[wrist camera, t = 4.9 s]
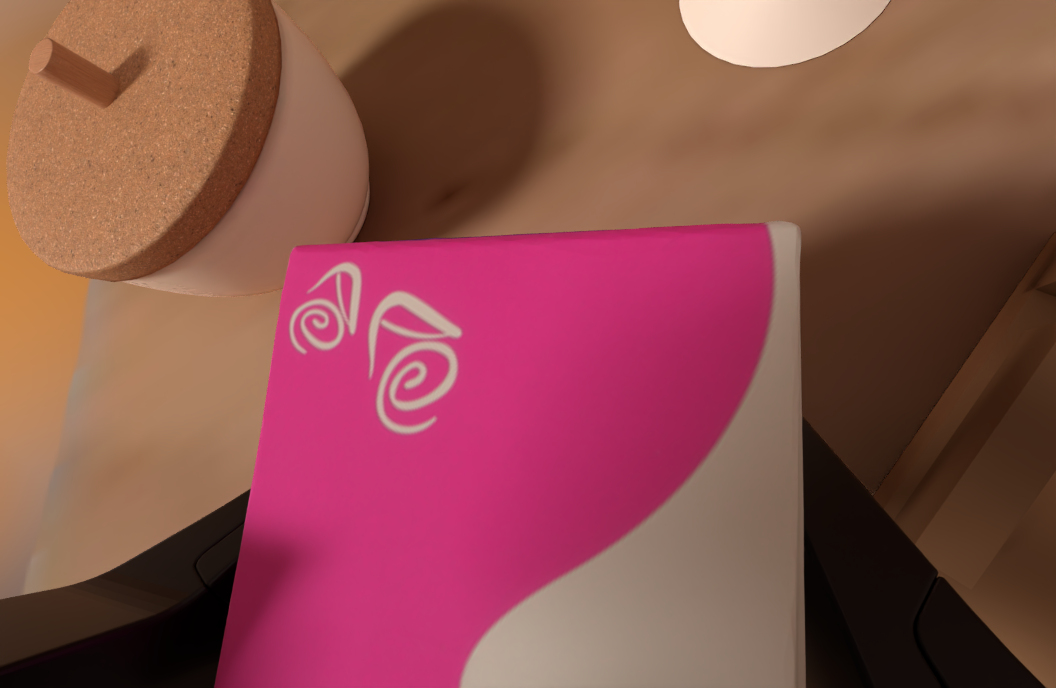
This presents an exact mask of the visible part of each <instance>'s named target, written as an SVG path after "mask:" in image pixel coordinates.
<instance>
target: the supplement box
mask: <svg viewBox="0 0 1056 688" xmlns="http://www.w3.org/2000/svg"><path fill="white" fill-rule="evenodd" d="M800 253H801V230H800V227H799V226H798V225H796V224H794V223H791V222H784V221H773V222H765V223H757V224H711V225H691V226H672V227H653V228H639V229H622V230H598V231H578V232H559V233H538V234H516V235H501V236H481V237H462V238H429V239H416V240H402V241H374V242H360V243H339V244H318V245H300V246H296V247H294V248H293V249H292V251H291V254H290V257H289V262H288V268H287V272H286V277H285V281H284V286H283V291H282V296H281V302H280V311H279V317H278V322H277V327H276V333H275V340H274V347H273V354H272V361H271V368H270V375H269V381H268V388H267V395H266V401H265V408H264V414H263V422H262V428H261V434H260V440H259V446H258V451H257V457H256V463H255V469H254V475H253V481H252V486H251V491H250V496H249V502H248V508H247V513H246V519H245V525H244V530H243V536H242V542H241V547H240V553H239V558H238V563H237V568H236V573H235V578H234V583H233V589H232V594H231V599H230V605H229V610H228V616H227V621H226V627H225V632H224V638H223V643H222V648H221V654H220V659H219V664H218V669H217V674H216V680H215V685H214V688H806V662H805V607H804V508H803V448H802V390H801V334H800Z"/></svg>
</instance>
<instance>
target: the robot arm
mask: <svg viewBox="0 0 1056 688" xmlns="http://www.w3.org/2000/svg"><path fill="white" fill-rule="evenodd" d="M802 448H803V508H804V607H805V662H806V688H1046V687H1045V686H1044V685H1043V684H1042V683H1041V682H1040V681H1039V680H1038V679H1037V678H1036V677H1035V676H1034V675H1033V674H1032V673H1031V672H1030V671H1029V670H1028V669H1027V668H1026V667H1025V666H1024V665H1023V664H1022V663H1021V662H1020V661H1019V659H1018V658H1017V657H1016V656H1015V655H1014V654H1013V653H1012V652H1011V651H1010V650H1009V649H1008V648H1007V647H1006V646H1005V645H1004V644H1003V643H1002V642H1001V640H1000V639H999V638H998V637H997V636H996V635H995V634H994V633H993V632H992V631H991V630H990V628H989V627H988V626H987V625H986V624H985V623H984V622H983V621H982V620H981V619H980V617H979V616H978V615H977V614H976V613H975V612H974V611H973V610H972V609H971V608H970V607H969V605H968V604H967V603H966V602H965V601H964V600H963V599H962V597H961V596H960V595H959V594H958V593H957V592H956V591H955V590H954V588H953V587H952V586H951V585H950V584H949V583H948V581H947V580H946V579H945V578H944V577H941V576H939V577H937V576H938V570H937V569H936V568H935V567H934V566H933V565H932V564H931V562H930V561H929V560H928V559H927V558H926V557H925V556H924V554H923V553H922V552H921V551H920V550H919V549H918V548H917V546H916V545H915V544H914V543H913V542H912V541H911V540H910V538H909V537H908V536H907V535H906V534H905V533H904V532H903V530H902V529H901V528H900V527H899V526H898V525H897V524H896V522H895V521H894V520H893V519H892V518H891V517H890V516H889V514H888V513H887V512H886V511H885V510H884V509H883V508H882V506H881V505H880V504H879V503H878V502H877V501H876V500H875V498H874V497H873V496H872V495H871V494H870V493H869V492H868V490H867V489H866V488H865V487H864V486H863V485H862V484H861V482H860V481H859V480H858V479H857V478H856V477H855V476H854V474H853V473H852V472H851V471H850V470H849V469H848V468H847V467H846V465H845V464H844V463H843V462H842V461H841V460H840V459H839V457H838V456H837V455H836V454H835V453H834V452H833V451H832V449H831V448H830V447H829V446H828V445H827V444H826V443H825V441H824V440H823V439H822V438H821V437H820V436H819V435H818V433H817V432H816V431H815V430H814V429H813V428H812V427H811V425H810V424H809V423H808V422H807V421H806V420H805V419H804V417H803V416H802ZM250 491H251V489H249V490H248V491H246V492H244V493H243V494H241V495H240V496H238V497H237V498H235V499H233V500H232V501H230V502H229V503H227V504H225V505H224V506H222V507H220V508H219V509H217V510H215V511H214V512H212V513H210V514H208V515H207V516H205V517H203V518H202V519H200V520H198V521H197V522H195V523H193V524H191V525H190V526H188V527H186V528H184V529H183V530H181V531H179V532H177V533H176V534H174V535H172V536H170V537H169V538H167V539H165V540H164V541H162V542H160V543H158V544H157V545H155V546H153V547H151V548H150V549H148V550H146V551H144V552H143V553H141V554H139V555H137V556H136V557H134V558H132V559H130V560H129V561H127V562H125V563H123V564H122V565H120V566H118V567H116V568H114V569H112V570H110V571H108V572H106V573H104V574H101V575H99V576H97V577H94V578H92V579H89V580H86V581H83V582H80V583H77V584H73V585H70V586H66V587H61V588H57V589H51V590H46V591H41V592H36V593H31V594H26V595H21V596H15V597H10V598H5V599H0V688H214V685H215V680H216V674H217V669H218V664H219V659H220V654H221V648H222V643H223V638H224V632H225V627H226V621H227V616H228V610H229V605H230V599H231V594H232V589H233V583H234V578H235V573H236V568H237V563H238V558H239V553H240V547H241V542H242V536H243V530H244V525H245V519H246V513H247V508H248V502H249V496H250Z"/></svg>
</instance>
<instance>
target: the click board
mask: <svg viewBox="0 0 1056 688" xmlns="http://www.w3.org/2000/svg"><path fill="white" fill-rule="evenodd" d="M873 497H874V498H875V500H876V501H877V502H878V503H879V504H880V505H881V506H882V508H883V509H884V510H885V511H886V512H887V513H888V514H889V516H890V517H891V518H892V519H893V520H894V521H895V522H896V524H897V525H898V526H899V527H900V528H901V529H902V530H903V532H904V533H905V534H906V535H907V536H908V537H909V538H910V540H911V541H912V542H913V543H914V544H915V545H916V546H917V548H918V549H919V550H920V551H921V552H922V553H923V554H924V556H925V557H926V558H927V559H928V560H929V561H930V562H931V564H932V565H933V566H934V567H935V568H936V569H937V570H938V576H937V577H939V576H941V577H944V578H945V579H946V580H947V581H948V583H949V584H950V585H951V586H952V587H953V588H954V590H955V591H956V592H957V593H958V594H959V595H960V596H961V597H962V599H963V600H964V601H965V602H966V603H967V604H968V605H969V607H970V608H971V609H972V610H973V611H974V612H975V613H976V614H977V615H978V616H979V617H980V619H981V620H982V621H983V622H984V623H985V624H986V625H987V626H988V627H989V628H990V630H991V631H992V632H993V633H994V634H995V635H996V636H997V637H998V638H999V639H1000V640H1001V642H1002V643H1003V644H1004V645H1005V646H1006V647H1007V648H1008V649H1009V650H1010V651H1011V652H1012V653H1013V654H1014V655H1015V656H1016V657H1017V658H1018V659H1019V661H1020V662H1021V663H1022V664H1023V665H1024V666H1025V667H1026V668H1027V669H1028V670H1029V671H1030V672H1031V673H1032V674H1033V675H1034V676H1035V677H1036V678H1037V679H1038V680H1039V681H1040V682H1041V683H1042V684H1043V685H1044V686H1045V687H1046V688H1056V232H1055V233H1054V234H1053V235H1052V237H1051V238H1050V239H1049V241H1048V242H1047V244H1046V245H1045V247H1044V248H1043V250H1042V251H1041V253H1040V254H1039V255H1038V257H1037V258H1036V260H1035V261H1034V263H1033V264H1032V266H1031V267H1030V269H1029V270H1028V272H1027V273H1026V274H1025V276H1024V277H1023V279H1022V280H1021V282H1020V283H1019V285H1018V286H1017V288H1016V289H1015V290H1014V292H1013V293H1012V295H1011V296H1010V298H1009V299H1008V301H1007V302H1006V304H1005V305H1004V306H1003V308H1002V309H1001V311H1000V312H999V314H998V315H997V317H996V318H995V320H994V321H993V323H992V324H991V325H990V327H989V328H988V330H987V331H986V333H985V334H984V336H983V337H982V339H981V340H980V341H979V343H978V344H977V346H976V347H975V349H974V350H973V352H972V353H971V355H970V356H969V357H968V359H967V360H966V362H965V363H964V365H963V366H962V368H961V369H960V371H959V372H958V374H957V375H956V376H955V378H954V379H953V381H952V382H951V384H950V385H949V387H948V388H947V390H946V391H945V392H944V394H943V395H942V397H941V398H940V400H939V401H938V403H937V404H936V406H935V407H934V408H933V410H932V411H931V413H930V414H929V416H928V417H927V419H926V420H925V422H924V423H923V425H922V426H921V427H920V429H919V430H918V432H917V433H916V435H915V436H914V438H913V439H912V441H911V442H910V443H909V445H908V446H907V448H906V449H905V451H904V452H903V454H902V455H901V457H900V458H899V459H898V461H897V462H896V464H895V465H894V467H893V468H892V470H891V471H890V473H889V474H888V476H887V477H886V478H885V480H884V481H883V483H882V484H881V486H880V487H879V489H878V490H877V492H876V493H875V494H874V496H873Z"/></svg>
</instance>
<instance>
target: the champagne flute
mask: <svg viewBox="0 0 1056 688" xmlns="http://www.w3.org/2000/svg"><path fill="white" fill-rule="evenodd" d="M889 2H890V0H679V7H680V11H681V15H682V19H683V23H684V24H685V26H686V28H687V30H688V32H689V34H690V36H691V37H692V38H693V39H694V40H695V41H696V42H697V43H698V44H699V45H700V46H701V47H702V48H703V49H704V50H706V51H707V52H709V53H711V54H712V55H714V56H715V57H717V58H719V59H722V60H725V61H728V62H730V63H733V64H737V65H744V66H750V67H779V66H784V65H790V64H796V63H801V62H803V61H806V60H809V59H812V58H815V57H818V56H821V55H824V54H826V53H828V52H829V51H831V50H833V49H835V48H837V47H839V46H841V45H843V44H845V43H846V42H848V41H849V40H851V39H852V38H853V37H855V36H856V35H858V34H859V33H860V32H862V31H863V30H864V29H866V28H867V27H868V26H869V25H870V24H871V23H872V22H873V21H874V20H875V19H876V18H877V17H878V16H879V15H880V14H881V13H882V11H883V10H884V9H885V7H886V6H887V4H888V3H889Z"/></svg>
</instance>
